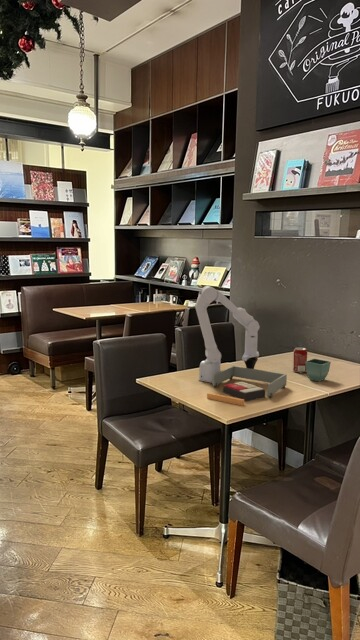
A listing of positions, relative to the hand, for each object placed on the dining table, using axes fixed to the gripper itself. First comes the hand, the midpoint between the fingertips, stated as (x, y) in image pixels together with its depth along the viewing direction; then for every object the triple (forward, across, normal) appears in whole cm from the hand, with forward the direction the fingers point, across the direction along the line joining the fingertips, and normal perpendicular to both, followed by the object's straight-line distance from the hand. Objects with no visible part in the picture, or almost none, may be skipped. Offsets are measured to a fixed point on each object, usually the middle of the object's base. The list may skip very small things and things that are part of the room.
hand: (250, 373), depth 217 cm
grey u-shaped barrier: (+3, -12, -5) cm, 13 cm away
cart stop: (+3, -34, -5) cm, 35 cm away
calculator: (+4, -22, -7) cm, 23 cm away
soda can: (+4, +29, -14) cm, 32 cm away
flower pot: (+4, +19, -26) cm, 32 cm away
